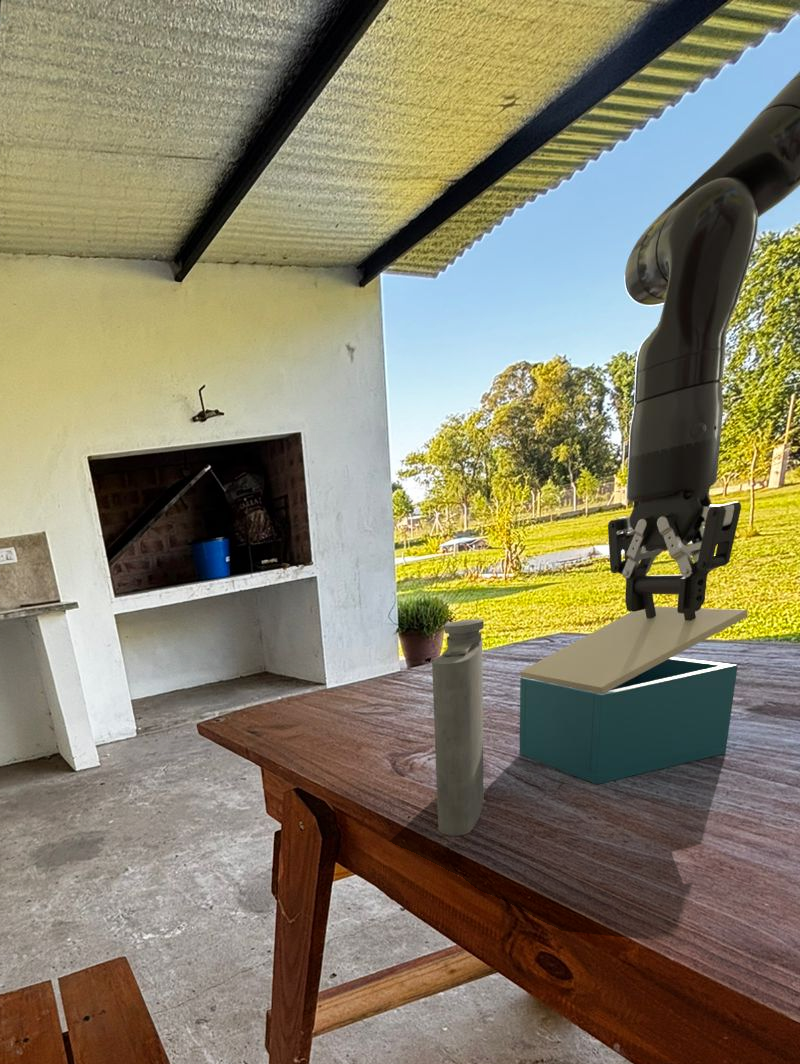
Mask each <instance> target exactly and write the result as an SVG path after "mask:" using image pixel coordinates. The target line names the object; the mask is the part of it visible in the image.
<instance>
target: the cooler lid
mask: <svg viewBox="0 0 800 1064" xmlns="http://www.w3.org/2000/svg"><path fill="white" fill-rule="evenodd" d="M680 578H684V577H683V576H682V575H681V574H654V575H652V574H650V575H647V574H646V575H645V576H641V577H639V578H638V579H637V580H636V582H635V585H634V589H635V591H636V592H637V593H638V594H642V596H643V602H644V607H645V609H644V610H639V611H635V612H632V611H629V612H628V613H626V614H624V615H623V616H621V617H619V618H617V619H615V620H613V621H612V622H611V621H610V622H609V623H608V624H606V625H604V626H602V627H600V628H598V629H597V630H595V631H593V632H591V633H589V634H587V635H585V636H583V637H582V638H579V639H578V640H576V641H574V642H572V643H570V644H568V645H567V646H565V647H562V648H561V649H559V650H557V651H556V652H553V653H552V654H550V655H548V656H545V657H544V658H542V659H540V660H538V661H537V662H535V663H533V664H531V665H528V666H527V667H525V668H523V669H522V670H520V671H519V674H520V678H523V677H524V678H528V679H533V680H538V681H543V682H548V683H552V684H557V685H562V686H567V687H571V688H576V689H581V690H586V691H590V692H595V693H600V694H604V693H606V692H608V691H609V690H611V689H613V688H615V687H617V686H619V685H621V684H623V683H624V682H626V681H628V680H630V679H632V678H634V677H636V676H638V675H639V674H641V673H643V672H645V671H647V670H649V669H651V668H653V667H654V666H656V665H658V664H660V663H662V662H664V661H666V660H668V659H669V658H671V657H676V656H677V655H679V654H681V653H682V652H685V651H686V650H688V649H690V648H692V647H694V646H695V645H698V644H699V643H701V642H703V641H705V640H706V639H709V638H711V637H713V636H714V635H716V634H718V633H720V632H722V631H724V630H725V629H727V628H729V627H731V626H733V625H735V624H737V623H739V622H741V621H742V620H744V619H747V618H748V617H749V616H748V609H734V608H733V609H732V608H731V609H730V608H706V607H705V608H703V607H701V608H700V610H698V611H695V612H691V613H687V614H683V613H678V611H677V607H678V606H677V607H676V606H675V607H673V606H655V602H654V601H655V600H654V597H653V596H654V595H678V594H679V581H680Z"/></svg>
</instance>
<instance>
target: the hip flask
mask: <svg viewBox="0 0 800 1064" xmlns="http://www.w3.org/2000/svg"><path fill="white" fill-rule="evenodd" d="M484 623H485V621H484V619H480V618H472V619H471V618H470V619H462V620H456V621H450V622H448V623H445V624H444V626H443V627H444V633H445V634H447V635H448V636H446V645H447V648H446V649H445V651H444V652H443V653H442V654H440V655H439V656H438V657H437V658H435V659H433V661H432V662H431V668H432V669H431V672H432V695H433V696H432V697H433V721H434V725H433V726H434V727H433V728H434V748H435V749H434V750H435V775H436V778H435V779H436V804H437V805H436V807H437V830H438V832H439V833H441V834H443V835H446V836H451V837H459V836H465V835H467V834H469V833H471V832H472V830H473V829H474V827H475V826H476V825H477V823H478V821H479V819H480V816H481V814H482V810H483V806H484V798H485V797H484V795H485V793H484V694H483V693H484V692H483V691H484V689H483V688H484V687H483V686H484V685H483V683H484V682H483V679H484V678H483V674H484V673H483V638H482V632H480V631H481V630H483V629H484V625H485V624H484Z"/></svg>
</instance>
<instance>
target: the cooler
mask: <svg viewBox="0 0 800 1064" xmlns="http://www.w3.org/2000/svg"><path fill="white" fill-rule="evenodd" d="M738 666H739V665H738V664H734V663H733V664H731V663H724V662H716V661H708V660H700V659H692V658H683V657H676V656H673V657H671V658H669V659H668V660H666V661H664V662H662V663H660V664H658V665H656V666H654V667H653V668H651V669H649V670H647V671H645V672H643V673H641V674H639V675H638V676H636V677H634V678H632V679H630V680H628V681H626V682H624V683H623V684H621V685H619V686H617V687H615V688H613V689H611V690H609V691H608V692H606V693H604V694H600V693H595V692H590V691H586V690H581V689H576V688H571V687H567V686H562V685H557V684H552V683H548V682H543V681H538V680H533V679H528V678H524V677H520V679H519V682H520V683H519V685H520V688H519V755H521V756H524V757H526V758H529V759H531V760H533V761H536V762H538V763H541V764H544V765H546V766H549V767H552V768H554V769H557V770H558V771H562V772H564V773H566V774H569V775H571V776H575V777H577V778H579V779H582V780H584V781H587V782H589V783H592V784H595V785H599V784H603V783H607V782H612V781H616V780H619V779H620V780H621V779H625V778H628V777H633V776H638V775H641V774H644V773H650V772H654V771H657V770H662V769H666V768H671V767H675V766H679V765H684V764H687V763H692V762H696V761H700V760H704V759H709V758H712V757H717V756H721V755H725V754H727V747H728V746H727V745H728V740H729V733H730V724H731V717H732V709H733V703H734V695H735V689H736V682H737V681H736V680H737V673H738V668H739V667H738Z"/></svg>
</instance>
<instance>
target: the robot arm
mask: <svg viewBox="0 0 800 1064" xmlns="http://www.w3.org/2000/svg"><path fill="white" fill-rule="evenodd" d="M734 141H735V142H734V143H733V144H732V145H731V146H730V147H729V148H728V149H727V150H726V151H725V152H724V153H723V154H722V156H720V157H719V158H718V159H717V160H716V161H715V162H714V163H713V164H712V165H711V166H710V167H709V168H708V169H707V170H706V171H704V172H703V173H702V174H701V175H700V176H699V177H698V178H697V179H696V180H695V181H694V182H693V183H691V185H689V187H687V188H686V189H685V191H683V192H682V193H681V194H680V195H679V196H678V197H677V198H676V199H675V200H674V201H673V202H672V203H670V205H669V206H668V207H667V208H666V209H664V211H662V213H660V215H658V216H657V217H656V219H655V220H653V222H651V224H649V226H648V227H647V228H646V229H645V230H644V232H643V233H642V234H641V235H640V237H639V238H638V239H637V240H636V243H635V244H634V246H633V247H632V249H631V251H630V254H629V256H628V259H627V262H626V266H625V271H624V287H625V290H626V293H627V295H628V296H629V298H630V299H631V300H632V301H634V302H635V303H637V304H639V305H640V306H641V305H642V306H647V307H653V306H661V305H662V310H661V314H660V318H659V321H658V323H657V325H656V327H654V330H652V331H651V333H650V334H649V335H647V336H646V337H645V339H644V340H643V341H642V342H641V344H640V345H639V348H638V351H637V356H636V361H635V376H634V377H635V378H634V395H633V396H634V397H633V398H634V399H633V404H634V405H633V412H632V417H631V421H630V428H629V441H628V461H627V462H628V463H627V482H626V499H627V501H628V502H633V507H632V511H631V513H630V515H629V516H623V517H618V518H615V519H611V520H610V521H609V522H608V524H607V534H608V549H609V550H608V552H609V569H610V572H611V573H612V574H620V575H621V576H622V577H623V579H625V597H624V603H625V606H626V611H627V612H635V611H639V610H644V609H645V607H644V602H643V596H642V594H638V593H637V592H636V591H635V589H634V585H635V582H636V580H637V579H638V578H639V577H641V576H645V575H647V574H649V572H650V570H651V568H652V566H653V564H654V562H655V559H657V557H658V556H659V555H660V554H661V553H662V552H663V550H664V551H666V550H667V552H668V554H669V557H670V558H671V559H673V560H675V561H676V565H677V566H678V569H679V573H680V575H682V576H683V577H684V578H680V581H679V594H677V595H678V596H677V611H678V613H683V614H687V613H691V612H695V611H698V610H700V608H702V606H704V603H705V601H706V592H707V591H706V590H707V580H708V575H709V574H710V572H711V571H713V570H716V569H718V568H721V567H724V566H725V567H726V566H727V565H728V564H729V563H730V560H731V556H732V550H733V547H734V542H735V538H736V533H737V528H738V524H739V519H740V515H741V510H742V504H741V502H740V501H732V502H727V503H723V504H712V503H713V502H712V499H711V498H710V489H711V487H713V485H715V483H716V482H717V480H718V470H719V458H720V449H721V448H720V447H721V437H722V425H723V415H724V397H723V396H724V395H723V379H724V371H725V370H724V369H725V359H726V358H725V357H726V347H727V346H726V343H727V331H728V328H729V325H730V322H731V319H732V316H733V314H734V311H735V309H736V306H737V303H738V300H739V297H740V294H741V290H742V288H743V284H744V281H745V278H746V275H747V271H748V268H749V265H750V261H751V258H752V255H753V251H754V247H755V243H756V238H757V233H758V225H759V218H760V217H762V216H763V215H764V214H766V213H767V212H769V211H770V210H772V209H773V208H774V207H776V206H777V205H778V204H779V203H781V202H782V201H783V200H785V199H786V198H788V196H790V195H791V194H792V193H794V191H796V190H797V189H798V188H799V187H800V71H798V72H797V73H796V74H795V76H793V78H792V79H790V81H789V82H788V83H787V84H786V85H784V87H783V88H782V89H781V90H780V91H779V92H778V93H777V94H776V95H775V97H774V98H773V99H772V100H771V101H770V102H769V103H768V104H767V105H766V106H765V107H764V108H763V110H762V111H760V113H758V114H757V116H756V117H755V118H753V120H752V121H751V122H750V124H749V125H748V126H747V127H746V128H745V129H744V131H743V132H742V133H741V135H739V136H738V138H737V139H735V140H734ZM690 543H691V544H690ZM622 551H624V560H623V558H622ZM692 558H693V559H692ZM693 560H694V561H693Z"/></svg>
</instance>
